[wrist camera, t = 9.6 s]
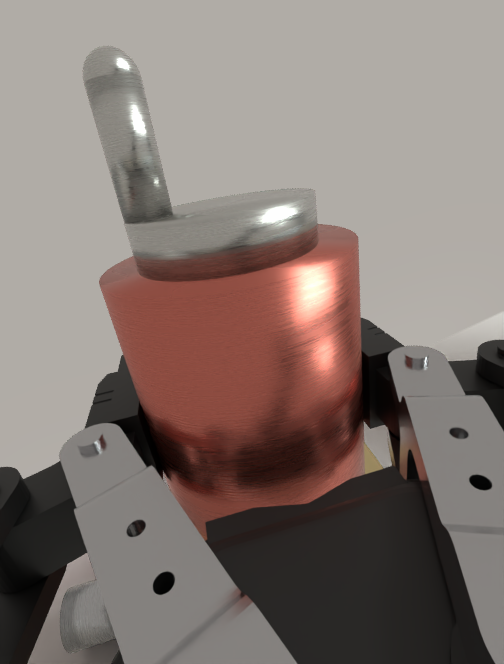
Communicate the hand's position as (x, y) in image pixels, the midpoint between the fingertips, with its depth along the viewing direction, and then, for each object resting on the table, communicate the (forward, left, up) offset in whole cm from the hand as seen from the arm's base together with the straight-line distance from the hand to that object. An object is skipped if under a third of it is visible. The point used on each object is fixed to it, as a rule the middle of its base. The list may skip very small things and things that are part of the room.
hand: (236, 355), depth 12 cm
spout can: (0, +3, -7) cm, 7 cm away
